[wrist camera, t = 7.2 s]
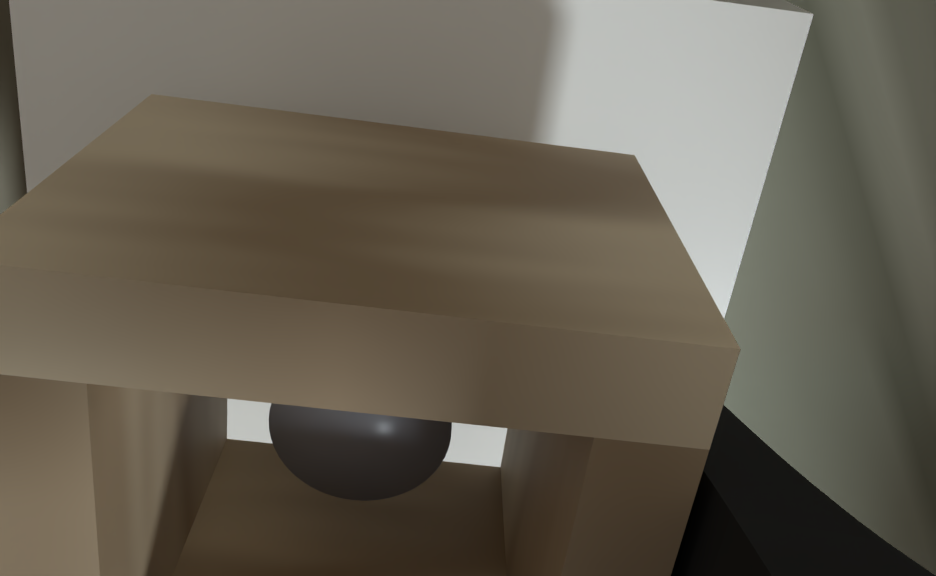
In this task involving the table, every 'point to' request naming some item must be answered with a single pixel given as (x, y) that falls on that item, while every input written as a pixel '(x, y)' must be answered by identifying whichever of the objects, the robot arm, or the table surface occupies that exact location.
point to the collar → (347, 350)
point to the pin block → (437, 128)
